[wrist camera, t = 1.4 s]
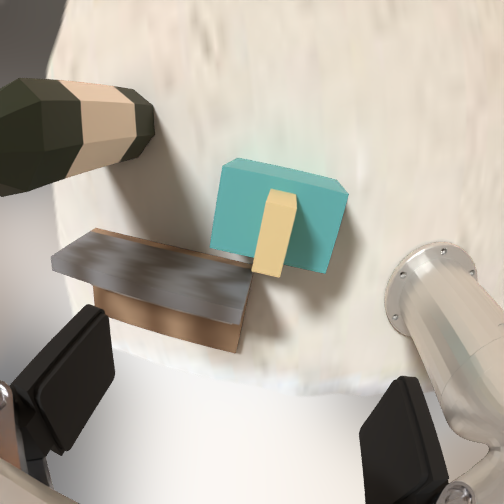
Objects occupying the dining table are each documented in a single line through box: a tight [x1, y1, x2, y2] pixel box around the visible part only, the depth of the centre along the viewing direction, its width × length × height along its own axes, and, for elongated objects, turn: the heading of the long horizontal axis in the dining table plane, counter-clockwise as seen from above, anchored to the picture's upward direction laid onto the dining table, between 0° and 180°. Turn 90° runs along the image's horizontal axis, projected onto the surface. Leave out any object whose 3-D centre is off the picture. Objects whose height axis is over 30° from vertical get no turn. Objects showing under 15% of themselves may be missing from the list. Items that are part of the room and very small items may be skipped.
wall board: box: [51, 228, 253, 353], centre depth 33 cm, size 20×12×9 cm, turn 79°
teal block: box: [210, 158, 349, 278], centre depth 26 cm, size 10×7×12 cm
